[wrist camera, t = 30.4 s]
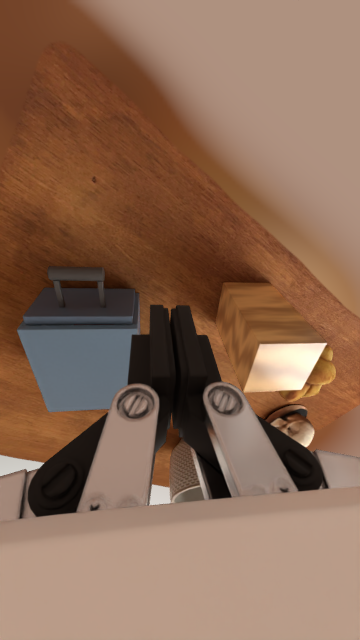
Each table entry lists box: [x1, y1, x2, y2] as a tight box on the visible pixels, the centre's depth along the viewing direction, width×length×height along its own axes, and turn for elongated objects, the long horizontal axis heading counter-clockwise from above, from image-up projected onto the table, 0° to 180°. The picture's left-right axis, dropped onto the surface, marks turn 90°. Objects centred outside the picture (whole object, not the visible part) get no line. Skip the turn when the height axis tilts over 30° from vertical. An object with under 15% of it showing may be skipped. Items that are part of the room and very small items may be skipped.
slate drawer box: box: [17, 293, 140, 412], centre depth 37 cm, size 16×14×9 cm
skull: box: [266, 405, 314, 447], centre depth 62 cm, size 12×10×10 cm
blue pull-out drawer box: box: [23, 266, 135, 325], centre depth 34 cm, size 20×13×7 cm, turn 176°
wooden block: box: [215, 282, 327, 392], centre depth 34 cm, size 8×8×15 cm
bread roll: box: [278, 344, 336, 402], centre depth 47 cm, size 13×10×8 cm
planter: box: [169, 438, 205, 503], centre depth 59 cm, size 14×14×13 cm
